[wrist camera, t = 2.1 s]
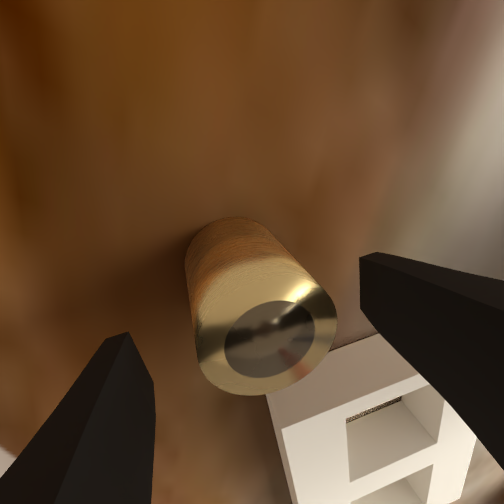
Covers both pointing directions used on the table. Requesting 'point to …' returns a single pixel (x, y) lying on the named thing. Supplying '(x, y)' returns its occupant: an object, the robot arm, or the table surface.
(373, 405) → the jig plate
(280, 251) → the brass bushing
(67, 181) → the table surface
